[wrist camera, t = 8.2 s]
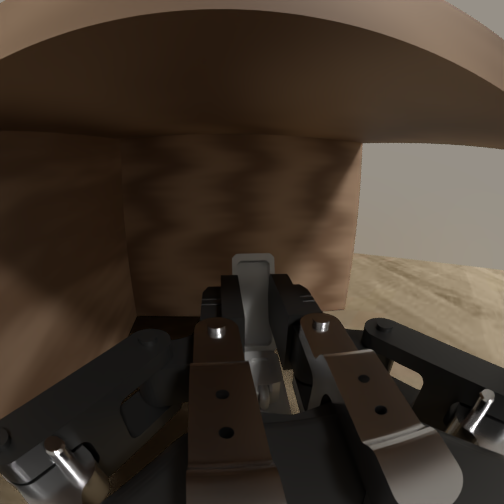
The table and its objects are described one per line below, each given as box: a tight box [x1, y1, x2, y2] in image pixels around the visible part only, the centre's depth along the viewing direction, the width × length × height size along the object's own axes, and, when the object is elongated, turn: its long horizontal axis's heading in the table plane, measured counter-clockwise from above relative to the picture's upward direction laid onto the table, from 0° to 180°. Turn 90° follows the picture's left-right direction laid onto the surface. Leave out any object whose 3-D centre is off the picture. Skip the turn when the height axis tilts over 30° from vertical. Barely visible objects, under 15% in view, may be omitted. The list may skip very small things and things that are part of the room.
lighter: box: [232, 253, 292, 415], centre depth 11 cm, size 7×2×8 cm, turn 4°
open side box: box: [0, 0, 504, 419], centre depth 14 cm, size 20×20×16 cm
